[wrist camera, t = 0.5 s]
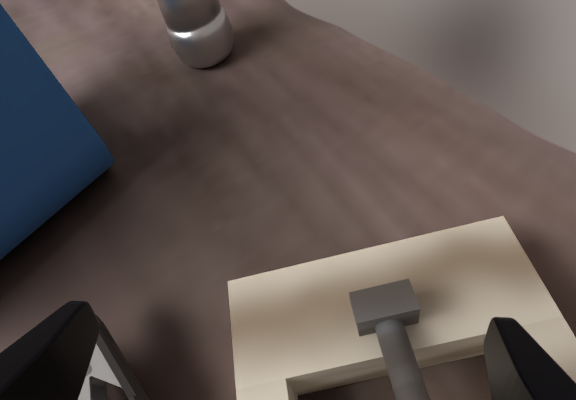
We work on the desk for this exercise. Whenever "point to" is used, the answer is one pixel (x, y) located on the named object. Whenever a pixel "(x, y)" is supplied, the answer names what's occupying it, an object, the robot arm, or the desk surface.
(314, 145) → the desk surface
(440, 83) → the desk surface
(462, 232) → the beige square frame
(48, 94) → the block
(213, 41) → the plastic bottle
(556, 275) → the desk surface
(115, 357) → the clip-on lamp
